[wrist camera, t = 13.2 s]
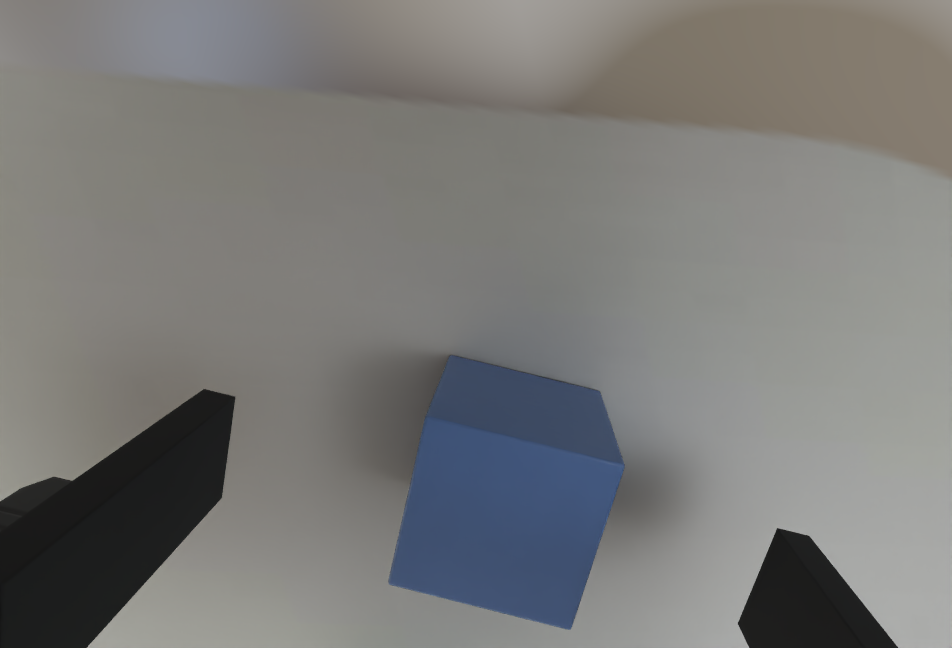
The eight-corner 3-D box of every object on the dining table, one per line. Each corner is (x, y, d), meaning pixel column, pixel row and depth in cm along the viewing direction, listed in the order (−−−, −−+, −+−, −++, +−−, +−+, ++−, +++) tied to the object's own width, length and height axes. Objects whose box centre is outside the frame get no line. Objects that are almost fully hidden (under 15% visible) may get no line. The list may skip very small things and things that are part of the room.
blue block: (449, 353, 17) (425, 415, 13) (601, 390, 17) (626, 465, 13) (419, 488, 18) (387, 585, 14) (560, 522, 18) (570, 631, 14)
